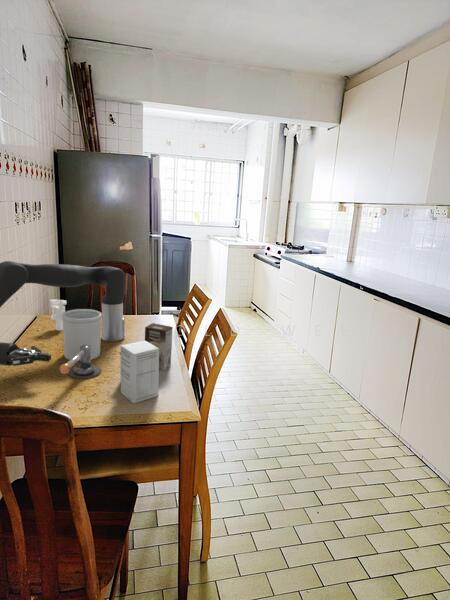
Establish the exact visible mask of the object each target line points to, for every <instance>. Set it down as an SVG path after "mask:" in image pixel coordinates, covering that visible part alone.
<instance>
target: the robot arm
mask: <svg viewBox="0 0 450 600" xmlns="http://www.w3.org/2000/svg"><path fill="white" fill-rule="evenodd" d="M126 282H127V281H126V274H125V272H124V270H123V269H122V268H121V269H120V268H118V267H114V266H109V265H108V266H107V265H105V266H93V267H90V266H89V267H88V266H82V265H76V264H75V265H74V264H63V263H61V264H60V263H55V264H53V263H52V264H50V263H49V264H48V263H47V264H29V263H23V262H15V261H11V260H6V261H5V260H4V261H2V262H0V308H2V306H3V305H4V304H5V303H6V302H8V300H10V298H12V297H13V296H14V295H15V294H16V293H17V292H18V291H19V290H20V289H21V288H22V287H23V286H24V285H25V284H38V285H43V286H48V287H55V288H76V287H80V286H84V285H99V286H104V287H106V293H105V294H104V295H102V296H101V313H102V317H101V339H102V340H103V341H104V342H109V343H110V342H112V343H113V342H119V341H122V340H125V338H126V337H125V333H126V331H125V330H126V329H125V328H126V327H125V323H126V321H125V318H124V298H125V295H126V284H127V283H126ZM51 360H52V354H50V353H46V352H44V353H43V352H42V349H40V348H38V347H36V346H34V345H31V346H30V348H29V349H28V348H25V347H21V348H20V347H18V345H17V344H16V343H11V342H0V366H9V367H11V366H13V367H17V366H22V365H24V366H25V365H30V364H34V362H35V363H37V362H38V361H39V362H50V361H51Z"/></svg>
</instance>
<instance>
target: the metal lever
mask: <svg viewBox="0 0 450 600" xmlns="http://www.w3.org/2000/svg"><path fill="white" fill-rule="evenodd" d="M79 360H80V361H79ZM78 362H80V363H79V364H77V363H78ZM75 364H77V365H76V366H74V365H75ZM73 366H74V367H73ZM95 366H96V365H93V364H92V359H91V346H90V345H82V346H80V352H79V353H78V354H77V355H75V356H74V357H73V358H72V359H71V360H68V361H67V362H66V363H62V364H61V365H60V366H59V371H60V373H61V374H68V373H70V371H71V368H72V367H73V368H74V374H76V375H79V376H86V375H91V374H93V373H94V372H95Z"/></svg>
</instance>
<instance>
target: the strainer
mask: <svg viewBox="0 0 450 600" xmlns="http://www.w3.org/2000/svg"><path fill="white" fill-rule="evenodd" d="M49 301H50V304H49V305H50V308H52V309H51V310H52V312H51V313H52V315H51V316H50V320H52V321H55V331H58V332H59V331H63V319H62V314H63V313H64V312H66V305H67V300H66V299H65V300H64V299H56V298H55V299H50V300H49Z"/></svg>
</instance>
